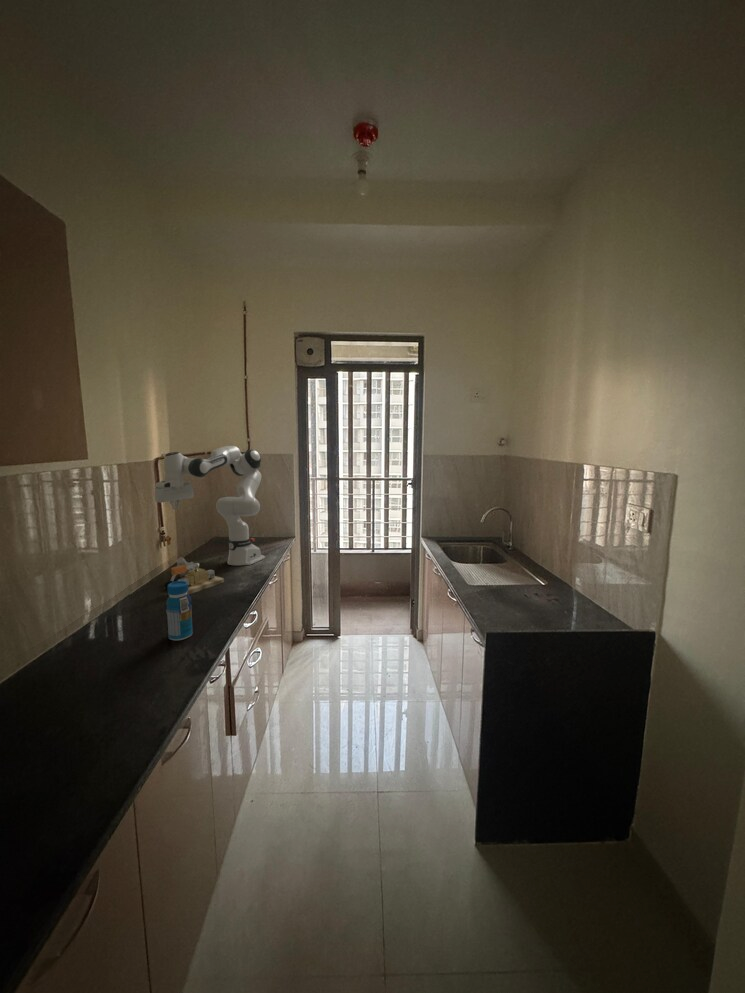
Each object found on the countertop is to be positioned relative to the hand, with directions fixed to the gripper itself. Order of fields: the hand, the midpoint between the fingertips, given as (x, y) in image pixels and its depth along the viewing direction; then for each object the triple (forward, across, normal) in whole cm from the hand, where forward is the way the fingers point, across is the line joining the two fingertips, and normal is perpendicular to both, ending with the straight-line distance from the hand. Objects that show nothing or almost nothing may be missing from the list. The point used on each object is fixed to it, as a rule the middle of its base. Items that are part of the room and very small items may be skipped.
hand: (175, 508), depth 210 cm
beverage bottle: (+35, +42, +66) cm, 86 cm away
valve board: (+35, +8, +27) cm, 45 cm away
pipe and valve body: (+33, +8, +27) cm, 43 cm away
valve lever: (+26, +13, +27) cm, 39 cm away
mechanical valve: (+36, +9, +16) cm, 40 cm away
